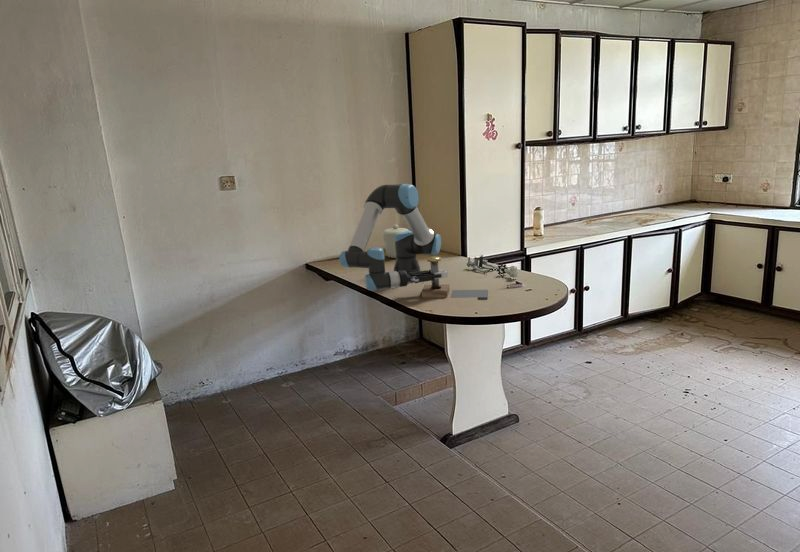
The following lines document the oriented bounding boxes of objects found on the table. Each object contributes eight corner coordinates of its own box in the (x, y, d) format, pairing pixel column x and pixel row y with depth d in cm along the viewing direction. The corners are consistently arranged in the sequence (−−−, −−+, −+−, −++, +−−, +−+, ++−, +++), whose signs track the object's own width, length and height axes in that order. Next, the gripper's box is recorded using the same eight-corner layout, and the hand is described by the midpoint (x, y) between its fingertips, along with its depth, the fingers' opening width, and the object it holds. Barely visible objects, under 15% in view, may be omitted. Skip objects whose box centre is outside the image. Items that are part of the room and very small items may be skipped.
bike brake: (463, 267, 318) (486, 279, 302) (464, 256, 316) (487, 267, 300) (482, 264, 325) (505, 275, 309) (483, 253, 322) (506, 263, 307)
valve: (521, 278, 291) (506, 274, 301) (521, 266, 289) (506, 262, 299) (511, 280, 288) (496, 276, 298) (510, 268, 286) (496, 264, 297)
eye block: (425, 292, 275) (424, 284, 274) (449, 292, 273) (449, 284, 272) (421, 299, 264) (421, 291, 263) (447, 299, 261) (447, 291, 261)
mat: (452, 292, 273) (452, 290, 273) (488, 291, 270) (487, 289, 270) (450, 299, 261) (450, 297, 260) (487, 299, 258) (487, 297, 257)
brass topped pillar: (430, 291, 272) (428, 256, 267) (443, 291, 270) (441, 256, 266) (428, 294, 265) (426, 259, 261) (441, 294, 264) (440, 259, 260)
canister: (401, 260, 350) (399, 227, 345) (378, 258, 360) (375, 226, 355) (416, 254, 365) (414, 222, 360) (393, 253, 375) (391, 221, 369)
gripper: (394, 282, 271) (441, 277, 276) (402, 291, 255) (451, 285, 260) (393, 267, 269) (440, 262, 274) (401, 275, 253) (451, 269, 258)
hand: (445, 273), depth 267 cm, fingers closed on brass topped pillar, 3 cm apart
